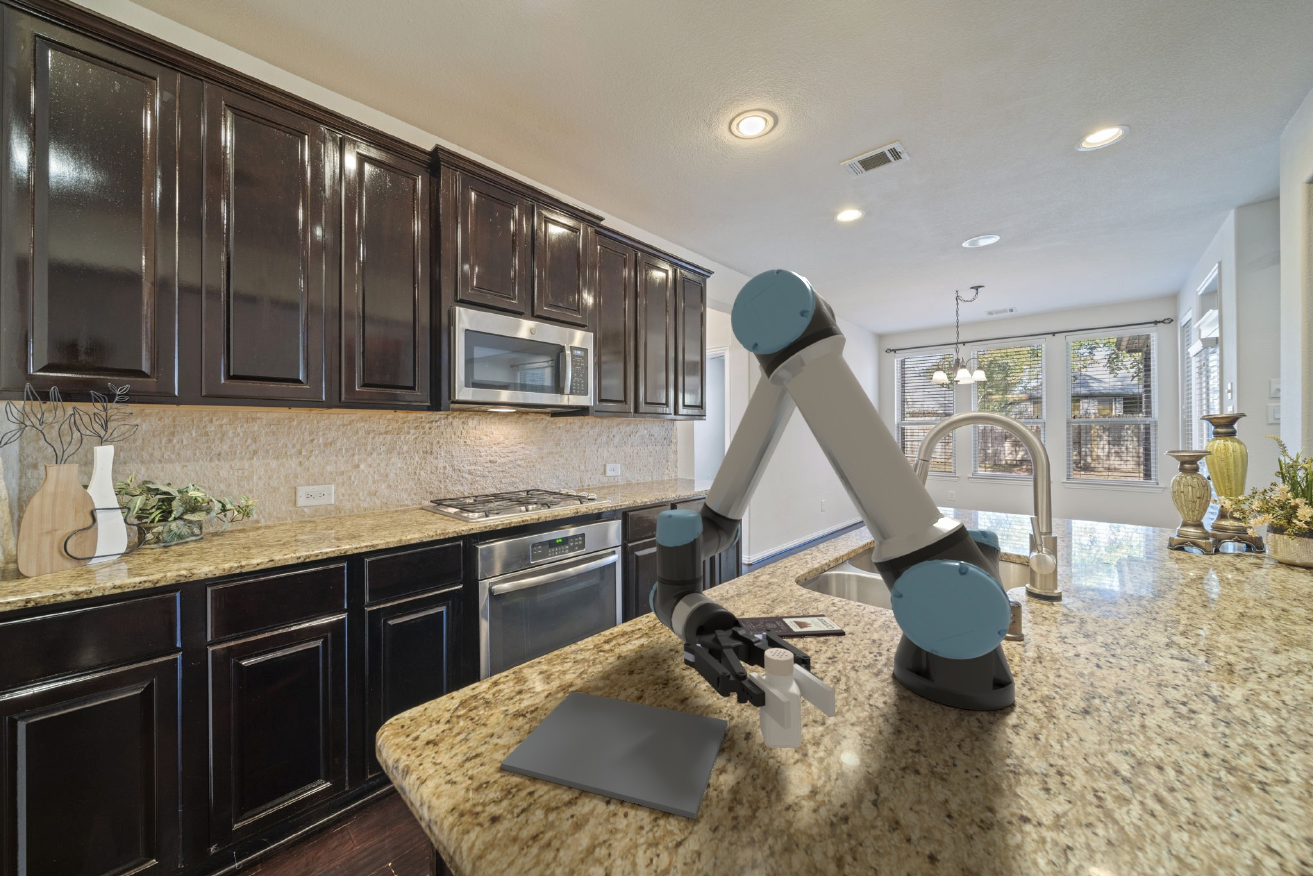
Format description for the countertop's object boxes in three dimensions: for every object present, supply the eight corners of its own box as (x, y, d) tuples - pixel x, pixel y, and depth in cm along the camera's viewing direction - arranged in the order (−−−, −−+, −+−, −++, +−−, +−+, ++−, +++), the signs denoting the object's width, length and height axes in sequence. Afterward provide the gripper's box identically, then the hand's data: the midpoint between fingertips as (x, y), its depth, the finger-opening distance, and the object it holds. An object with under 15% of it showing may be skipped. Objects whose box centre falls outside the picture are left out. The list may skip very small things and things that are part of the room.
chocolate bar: (735, 618, 96) (823, 614, 98) (736, 623, 96) (823, 619, 98) (749, 636, 87) (845, 632, 89) (749, 642, 87) (845, 637, 89)
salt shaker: (758, 728, 57) (757, 646, 57) (793, 728, 57) (792, 646, 57) (765, 750, 53) (764, 661, 53) (802, 750, 53) (801, 662, 53)
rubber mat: (727, 725, 62) (727, 720, 62) (695, 819, 46) (695, 813, 46) (572, 695, 69) (572, 691, 69) (500, 768, 54) (500, 763, 54)
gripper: (759, 643, 75) (878, 726, 53) (649, 664, 68) (733, 768, 46) (758, 594, 75) (877, 657, 53) (648, 610, 68) (732, 689, 46)
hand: (809, 709), depth 50 cm, fingers closed on salt shaker, 5 cm apart
